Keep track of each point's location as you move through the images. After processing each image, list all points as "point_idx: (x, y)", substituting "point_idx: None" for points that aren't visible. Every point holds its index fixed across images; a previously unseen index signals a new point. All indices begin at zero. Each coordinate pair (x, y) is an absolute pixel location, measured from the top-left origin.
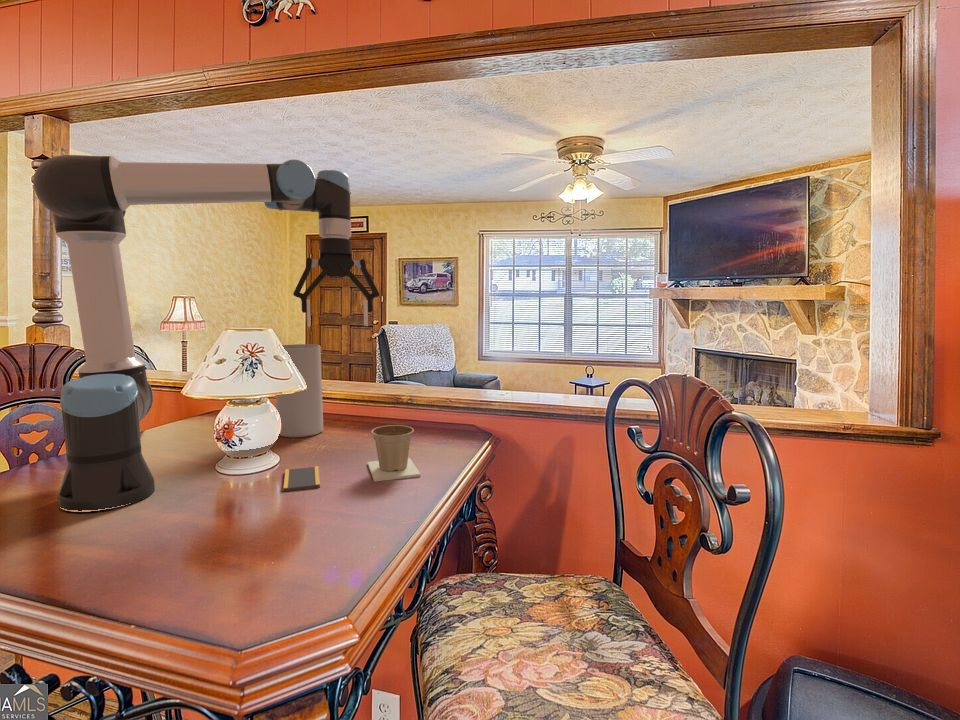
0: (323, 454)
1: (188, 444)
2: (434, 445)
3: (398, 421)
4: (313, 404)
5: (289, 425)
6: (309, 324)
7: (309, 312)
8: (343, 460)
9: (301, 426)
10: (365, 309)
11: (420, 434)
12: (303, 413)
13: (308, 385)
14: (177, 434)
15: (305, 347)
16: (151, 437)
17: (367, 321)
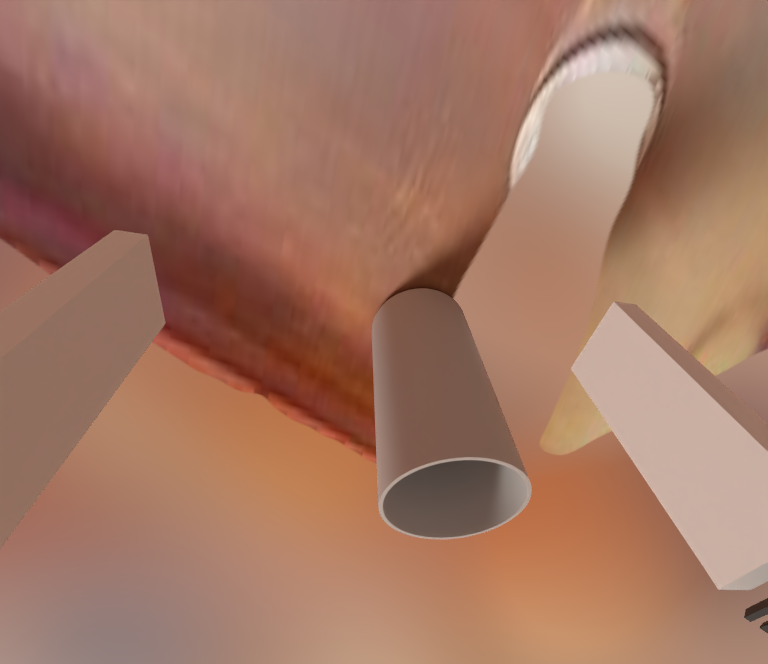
0: (419, 121)
1: None
2: (99, 44)
3: (195, 328)
4: (404, 333)
5: (454, 308)
6: (632, 313)
7: (702, 385)
8: (387, 26)
9: (430, 299)
10: (15, 333)
11: (142, 190)
12: (429, 316)
13: (423, 363)
14: None
15: (412, 524)
16: None
17: (94, 250)
